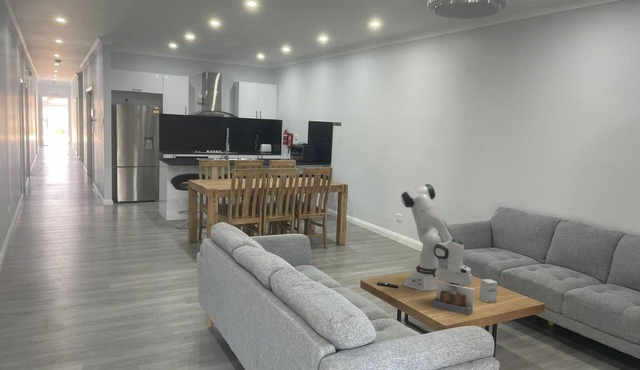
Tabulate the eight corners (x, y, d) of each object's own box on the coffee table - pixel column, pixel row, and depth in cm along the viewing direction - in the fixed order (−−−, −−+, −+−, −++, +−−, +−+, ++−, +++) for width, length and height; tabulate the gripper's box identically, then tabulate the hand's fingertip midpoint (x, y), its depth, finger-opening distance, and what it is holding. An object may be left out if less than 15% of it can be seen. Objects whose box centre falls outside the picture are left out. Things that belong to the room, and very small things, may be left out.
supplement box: (486, 302, 288) (487, 282, 286) (479, 298, 295) (480, 279, 293) (496, 302, 290) (498, 282, 288) (489, 298, 297) (490, 278, 295)
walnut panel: (439, 306, 278) (440, 285, 276) (441, 304, 281) (443, 284, 280) (463, 312, 270) (464, 290, 269) (464, 310, 274) (466, 288, 272)
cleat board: (431, 306, 277) (433, 285, 276) (436, 302, 285) (438, 281, 284) (469, 314, 266) (470, 292, 264) (473, 310, 273) (474, 288, 272)
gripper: (436, 265, 276) (434, 287, 277) (471, 271, 265) (469, 295, 266) (439, 263, 281) (438, 285, 283) (473, 269, 270) (472, 292, 272)
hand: (453, 290), depth 274 cm, fingers open, 4 cm apart
